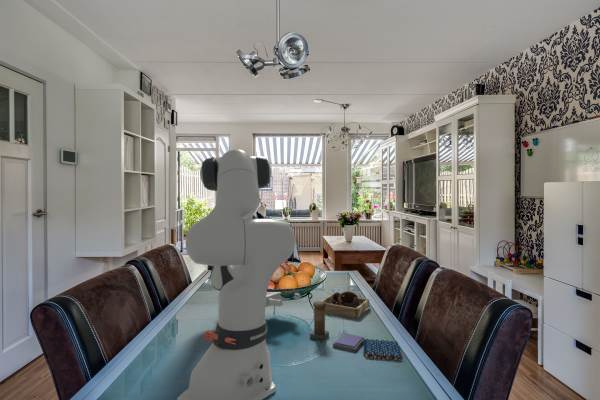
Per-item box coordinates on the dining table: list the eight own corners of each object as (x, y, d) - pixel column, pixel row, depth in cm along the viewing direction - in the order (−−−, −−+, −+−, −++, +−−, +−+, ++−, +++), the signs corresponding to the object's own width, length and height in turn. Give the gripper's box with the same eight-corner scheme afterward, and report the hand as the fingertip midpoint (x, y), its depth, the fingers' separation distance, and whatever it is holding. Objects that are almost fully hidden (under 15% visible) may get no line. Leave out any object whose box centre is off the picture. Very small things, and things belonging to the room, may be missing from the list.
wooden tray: (357, 318, 125) (357, 309, 125) (318, 311, 132) (318, 302, 132) (369, 308, 137) (369, 299, 137) (332, 302, 145) (332, 293, 145)
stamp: (323, 341, 105) (323, 306, 105) (310, 338, 107) (310, 304, 107) (328, 336, 109) (329, 302, 109) (316, 333, 111) (316, 300, 111)
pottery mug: (363, 309, 137) (364, 294, 133) (351, 325, 131) (352, 310, 127) (338, 297, 144) (338, 282, 139) (325, 311, 137) (325, 297, 133)
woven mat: (403, 363, 92) (403, 355, 92) (363, 359, 94) (363, 352, 94) (399, 346, 102) (399, 340, 102) (363, 343, 104) (363, 337, 104)
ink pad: (355, 352, 97) (355, 347, 97) (332, 346, 101) (332, 342, 101) (365, 340, 105) (365, 336, 105) (343, 336, 109) (343, 332, 109)
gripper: (240, 289, 116) (269, 298, 108) (280, 278, 132) (308, 284, 124) (239, 308, 116) (269, 317, 108) (279, 294, 132) (308, 302, 124)
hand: (290, 300), depth 116 cm, fingers open, 8 cm apart
